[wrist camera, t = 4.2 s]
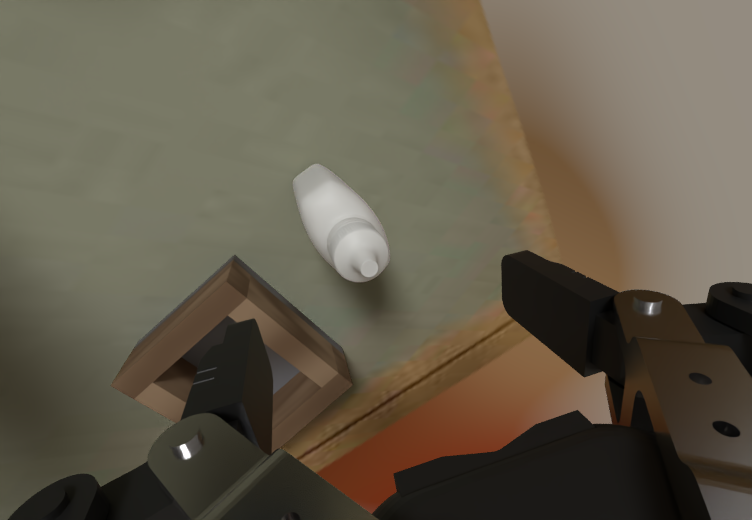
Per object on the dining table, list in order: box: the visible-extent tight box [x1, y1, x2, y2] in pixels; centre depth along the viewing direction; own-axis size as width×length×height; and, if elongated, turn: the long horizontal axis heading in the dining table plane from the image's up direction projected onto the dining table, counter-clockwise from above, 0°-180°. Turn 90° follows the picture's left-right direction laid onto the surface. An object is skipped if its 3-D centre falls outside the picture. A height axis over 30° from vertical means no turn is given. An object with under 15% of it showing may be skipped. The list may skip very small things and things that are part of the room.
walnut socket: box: [111, 255, 353, 453], centre depth 25 cm, size 11×9×4 cm
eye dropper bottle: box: [293, 164, 390, 283], centre depth 19 cm, size 4×6×12 cm
